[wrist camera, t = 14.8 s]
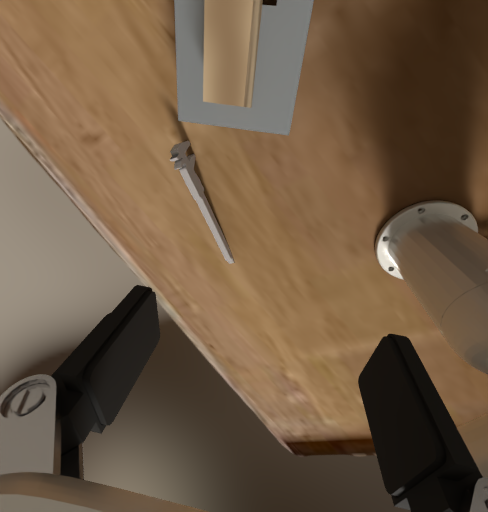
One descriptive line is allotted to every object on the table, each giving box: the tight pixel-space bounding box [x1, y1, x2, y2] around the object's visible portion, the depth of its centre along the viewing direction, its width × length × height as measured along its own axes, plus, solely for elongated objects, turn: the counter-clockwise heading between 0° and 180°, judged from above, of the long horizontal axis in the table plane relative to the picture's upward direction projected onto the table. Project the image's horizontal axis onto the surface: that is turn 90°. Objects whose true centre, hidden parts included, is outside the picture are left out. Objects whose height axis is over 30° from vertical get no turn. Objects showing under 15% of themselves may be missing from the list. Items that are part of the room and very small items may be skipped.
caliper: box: [170, 141, 235, 264], centre depth 36 cm, size 20×1×6 cm, turn 18°
